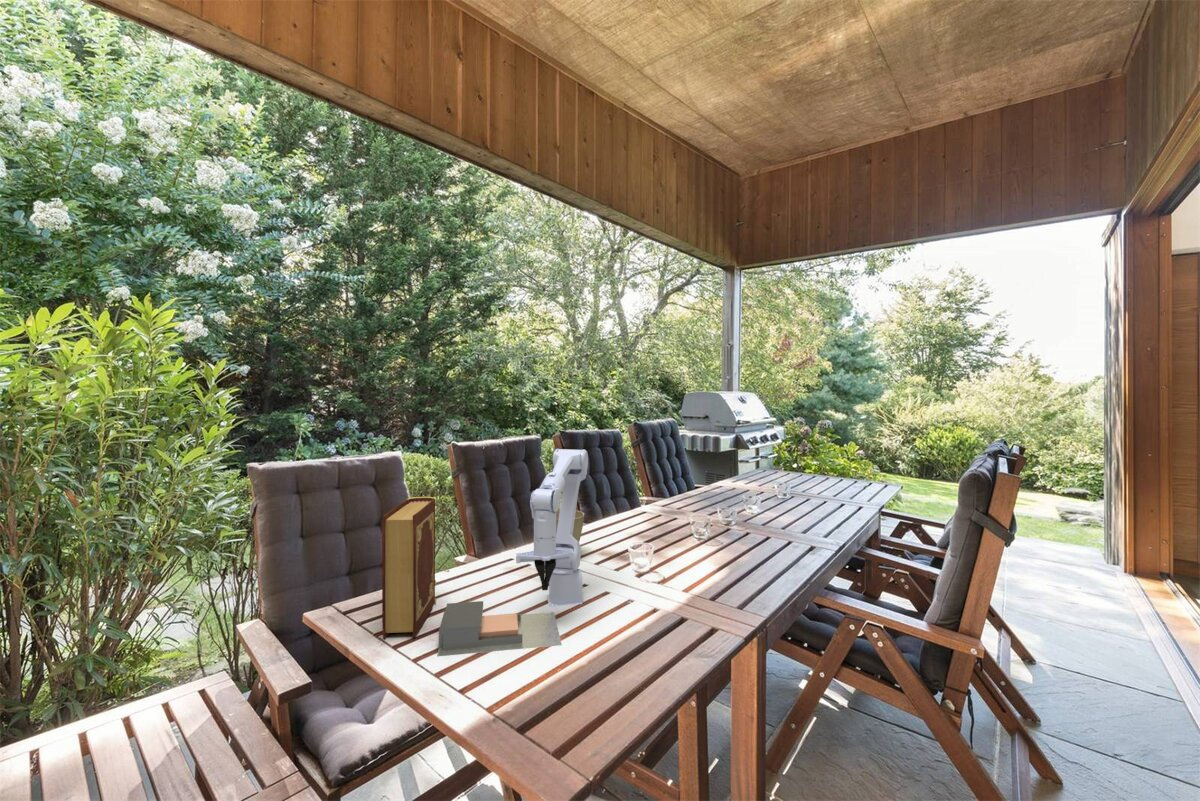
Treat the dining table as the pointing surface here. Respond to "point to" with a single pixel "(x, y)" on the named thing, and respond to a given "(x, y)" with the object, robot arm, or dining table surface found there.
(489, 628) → the peach rectangular panel
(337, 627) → the dining table surface
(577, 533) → the plant pot
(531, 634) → the dock
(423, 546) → the decorative book
